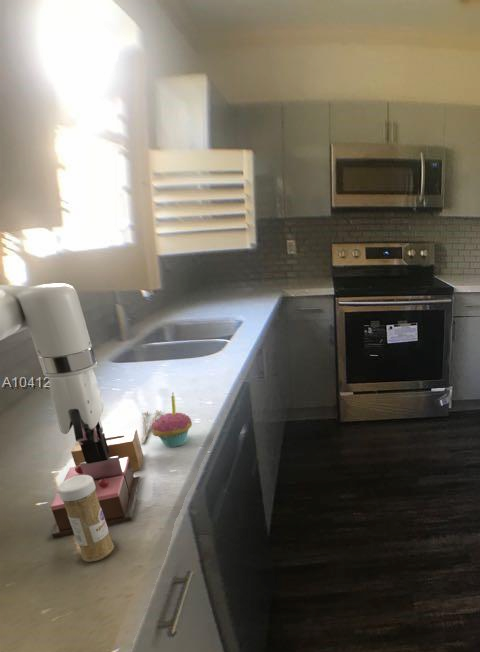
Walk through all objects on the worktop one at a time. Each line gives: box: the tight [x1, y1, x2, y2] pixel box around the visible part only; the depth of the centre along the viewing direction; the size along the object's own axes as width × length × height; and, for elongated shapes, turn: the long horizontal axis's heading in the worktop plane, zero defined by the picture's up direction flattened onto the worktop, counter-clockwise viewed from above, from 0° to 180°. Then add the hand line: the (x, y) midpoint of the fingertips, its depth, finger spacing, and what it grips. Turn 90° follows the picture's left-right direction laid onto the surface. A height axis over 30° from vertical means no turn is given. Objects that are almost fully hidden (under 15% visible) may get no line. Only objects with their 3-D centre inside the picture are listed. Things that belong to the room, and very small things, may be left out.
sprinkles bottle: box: [57, 475, 115, 563], centre depth 71 cm, size 5×5×13 cm
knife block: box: [70, 428, 144, 473], centre depth 96 cm, size 11×6×7 cm, turn 111°
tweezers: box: [141, 409, 162, 444], centre depth 115 cm, size 17×5×2 cm, turn 19°
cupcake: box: [151, 392, 193, 448], centre depth 105 cm, size 9×8×12 cm
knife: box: [80, 427, 129, 493], centre depth 83 cm, size 6×2×14 cm, turn 111°
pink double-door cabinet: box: [50, 457, 142, 539], centre depth 84 cm, size 12×14×7 cm
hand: (97, 457), depth 82 cm, fingers closed on knife, 1 cm apart
